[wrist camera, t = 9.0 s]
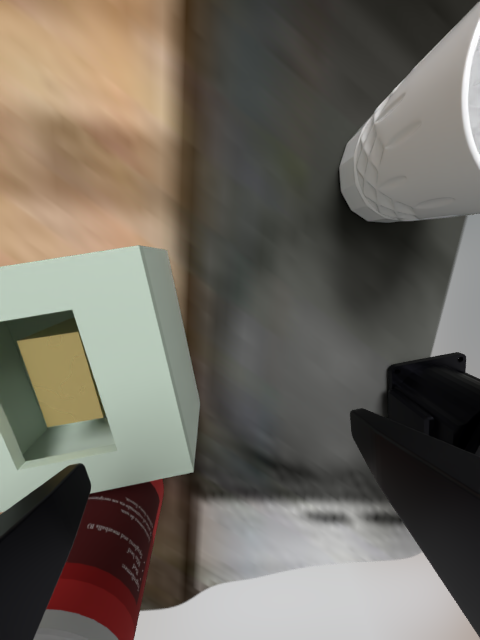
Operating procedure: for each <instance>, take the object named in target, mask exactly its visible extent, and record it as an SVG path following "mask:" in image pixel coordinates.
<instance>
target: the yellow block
mask: <svg viewBox="0 0 480 640" xmlns="http://www.w3.org/2000/svg"><path fill="white" fill-rule="evenodd" d="M17 343H18V346H19V349H20V352H21V354H22V357H23V360H24V363H25V366H26V368H27V371H28V374H29V377H30V380H31V382H32V385H33V388H34V391H35V394H36V396H37V399H38V402H39V405H40V408H41V410H42V413H43V416H44V419H45V422H46V424H47V427H52V426H58V425H64V424H69V423H75V422H81V421H87V420H93V419H99V418H104V416H105V415H106V413H105V410H104V407H103V404H102V401H101V398H100V395H99V392H98V388H97V385H96V382H95V379H94V376H93V373H92V370H91V367H90V363H89V360H88V357H87V354H86V351H85V348H84V345H83V342H82V338H81V335H80V332H79V329H78V326H77V323H76V320H75V318H70V319H68V320H65V321H63V322H61V323H58V324H56V325H53V326H51V327H49V328H46V329H44V330H42V331H39V332H37V333H34V334H32V335H30V336H27V337H25V338H23V339H20V340H18V341H17Z"/></svg>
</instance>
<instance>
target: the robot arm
mask: <svg viewBox="0 0 480 640" xmlns="http://www.w3.org/2000/svg"><path fill="white" fill-rule="evenodd" d="M458 358H459V359H458ZM465 368H466V356H465V355H464V354H461V353H459V352H456V353H451V354H445V355H440V356H435V357H429V358H424V359H419V360H414V361H408V362H403V363H398V364H394V365H391V366H390V368H389V392H388V414H389V419H387V418H385V417H383V416H380V415H378V414H375V413H373V412H371V411H368V410H366V409H363V408H361V409H356V410H352V411H351V412H350V420H351V432H352V436H353V439H354V441H355V442H356V444H357V446H358V448H359V450H360V452H361V454H362V456H363V457H364V459H365V461H366V463H367V465H368V467H369V469H370V471H371V473H372V474H373V476H374V478H375V480H376V482H377V483H378V485H379V487H380V488H381V490H382V491H383V493H384V494H385V496H386V497H387V499H388V500H389V502H390V503H391V505H392V506H393V508H394V509H395V511H396V512H397V514H398V515H399V517H400V518H401V520H402V521H403V523H404V524H405V526H406V527H407V529H408V530H409V532H410V533H411V535H412V536H413V538H414V539H415V541H416V542H417V544H418V545H419V547H420V548H421V550H422V551H423V553H424V554H425V556H426V557H427V559H428V560H429V562H430V563H431V565H432V566H433V568H434V569H435V571H436V572H437V574H438V576H439V577H440V578H441V580H442V581H443V583H444V585H445V586H446V587H447V589H448V591H449V592H450V593H451V595H452V597H453V598H454V600H455V601H456V603H457V604H458V605H459V607H460V609H461V610H462V612H463V613H464V615H465V616H466V618H467V619H468V621H469V622H470V624H471V625H472V627H473V628H474V630H475V631H476V632H477V634H478V636H479V637H480V379H479V378H476V377H474V376H472V375H470V374H468V373H465ZM396 369H397V371H396V372H395V370H396ZM90 491H91V482H90V479H89V476H88V473H87V471H86V468H85V466H84V464H82V463H78V464H72V465H69V466H67V467H65V468H64V469H63V470H61V471H60V472H59V473H57V474H56V475H54V476H53V477H52V478H50V479H49V480H48V481H46V482H45V483H43V484H42V485H41V486H39V487H38V488H36V489H35V490H34V491H32V492H31V493H30V494H28V495H27V496H25V497H24V498H23V499H21V500H20V501H19V502H17V503H16V504H14V505H13V506H12V507H10V508H9V509H7V510H6V511H5V512H3V513H2V514H1V515H0V640H33V639H34V637H35V635H36V632H37V630H38V627H39V625H40V623H41V620H42V618H43V616H44V613H45V611H46V608H47V606H48V604H49V601H50V599H51V596H52V594H53V592H54V589H55V587H56V585H57V582H58V580H59V577H60V575H61V573H62V570H63V568H64V565H65V563H66V561H67V558H68V556H69V553H70V551H71V548H72V546H73V543H74V540H75V538H76V535H77V532H78V528H79V525H80V522H81V519H82V516H83V513H84V510H85V507H86V504H87V501H88V498H89V495H90Z"/></svg>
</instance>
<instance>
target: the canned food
mask: <svg viewBox="0 0 480 640" xmlns="http://www.w3.org/2000/svg"><path fill="white" fill-rule="evenodd" d="M163 496H164V485H163V479H158V480H154V481H149V482H144V483H139V484H134V485H129V486H125V487H120V488H115V489H110V490H105V491H100V492H95V493H91V494H90V495H89V498H88V501H87V504H86V507H85V510H84V513H83V516H82V519H81V522H80V525H79V528H78V532H77V535H76V538H75V540H74V543H73V546H72V548H71V551H70V553H69V556H68V558H67V561H66V563H65V565H64V568H63V570H62V573H61V575H60V577H59V580H58V582H57V585H56V587H55V589H54V592H53V594H52V596H51V599H50V601H49V604H48V606H47V608H46V611H45V613H44V616H43V618H42V620H41V623H40V625H39V627H38V630H37V632H36V635H35V637H34V639H33V640H134V636H135V631H136V626H137V621H138V616H139V612H140V607H141V602H142V597H143V592H144V587H145V583H146V578H147V573H148V568H149V563H150V558H151V554H152V549H153V544H154V539H155V534H156V529H157V525H158V520H159V515H160V510H161V505H162V500H163Z"/></svg>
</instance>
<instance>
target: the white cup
mask: <svg viewBox="0 0 480 640" xmlns="http://www.w3.org/2000/svg"><path fill="white" fill-rule="evenodd" d="M339 173H340V187H341V193H342V194H343V196H344V198H345V200H346V202H347V204H348V205H349V207H350V209H351V210H352V211H353V212H355V213H356V214H358V215H359V216H361V217H362V218H364V219H365V220H367V221H370V222H384V223H390V222H397V221H417V220H426V219H440V218H449V217H457V216H466V215H474V214H480V1H479V2H478V3H477V4H476V5H475V6H474V7H473V8H472V9H471V10H470V11H469V12H468V13H467V14H466V15H465V16H464V17H463V18H462V19H461V20H460V22H459V23H458V24H457V25H456V26H455V27H454V28H453V29H452V30H451V31H450V32H449V33H448V34H447V35H446V36H445V37H444V38H443V39H442V40H441V41H440V42H439V43H438V44H437V45H436V46H435V47H434V48H433V49H432V50H431V51H430V52H429V53H428V54H427V55H426V56H425V57H424V58H423V59H422V60H421V61H420V62H419V63H418V64H417V65H416V66H415V68H414V69H413V70H412V71H411V72H410V73H409V74H408V76H407V77H406V78H405V79H404V80H403V81H402V82H401V83H400V84H399V85H398V86H397V87H396V88H395V89H394V90H393V91H392V92H391V94H390V95H389V96H388V97H387V98H386V99H385V100H384V101H383V102H382V103H381V104H380V105H379V106H378V108H377V109H376V110H375V112H374V114H373V115H372V116H371V117H370V118H369V119H368V120H367V121H366V122H365V123H364V124H363V125H362V127H361V128H360V129H359V130H358V131H357V132H356V134H355V135H354V136H353V137H352V138H351V139H350V141H349V142H348V143H347V145H346V148H345V151H344V154H343V157H342V160H341V163H340V166H339Z"/></svg>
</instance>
